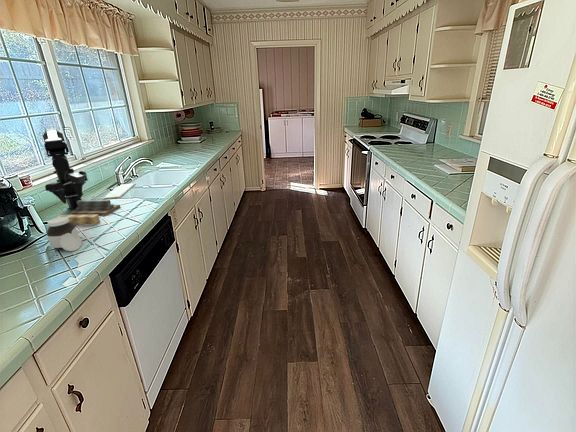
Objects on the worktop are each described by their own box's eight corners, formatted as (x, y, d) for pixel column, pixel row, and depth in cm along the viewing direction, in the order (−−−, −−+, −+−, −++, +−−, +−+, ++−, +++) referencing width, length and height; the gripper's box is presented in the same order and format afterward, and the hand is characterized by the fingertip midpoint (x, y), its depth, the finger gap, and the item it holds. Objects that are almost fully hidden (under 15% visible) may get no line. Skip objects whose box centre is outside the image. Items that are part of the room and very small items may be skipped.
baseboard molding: (99, 200, 188) (120, 198, 189) (97, 196, 187) (119, 194, 188) (117, 186, 217) (135, 185, 218) (116, 182, 216) (134, 181, 217)
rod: (57, 225, 152) (54, 217, 151) (63, 222, 156) (60, 215, 154) (95, 224, 150) (93, 217, 149) (100, 222, 153) (98, 214, 152)
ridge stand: (71, 215, 164) (67, 204, 162) (87, 207, 175) (84, 197, 173) (105, 215, 161) (102, 204, 159) (120, 207, 172) (117, 196, 170)
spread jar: (66, 241, 133) (57, 215, 129) (92, 240, 133) (84, 214, 128) (45, 255, 122) (34, 227, 118) (73, 253, 121) (63, 226, 117)
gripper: (61, 171, 134) (72, 206, 139) (92, 162, 151) (101, 194, 156) (38, 172, 135) (50, 206, 141) (72, 164, 153) (82, 194, 158)
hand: (73, 200), depth 149 cm, fingers open, 9 cm apart
